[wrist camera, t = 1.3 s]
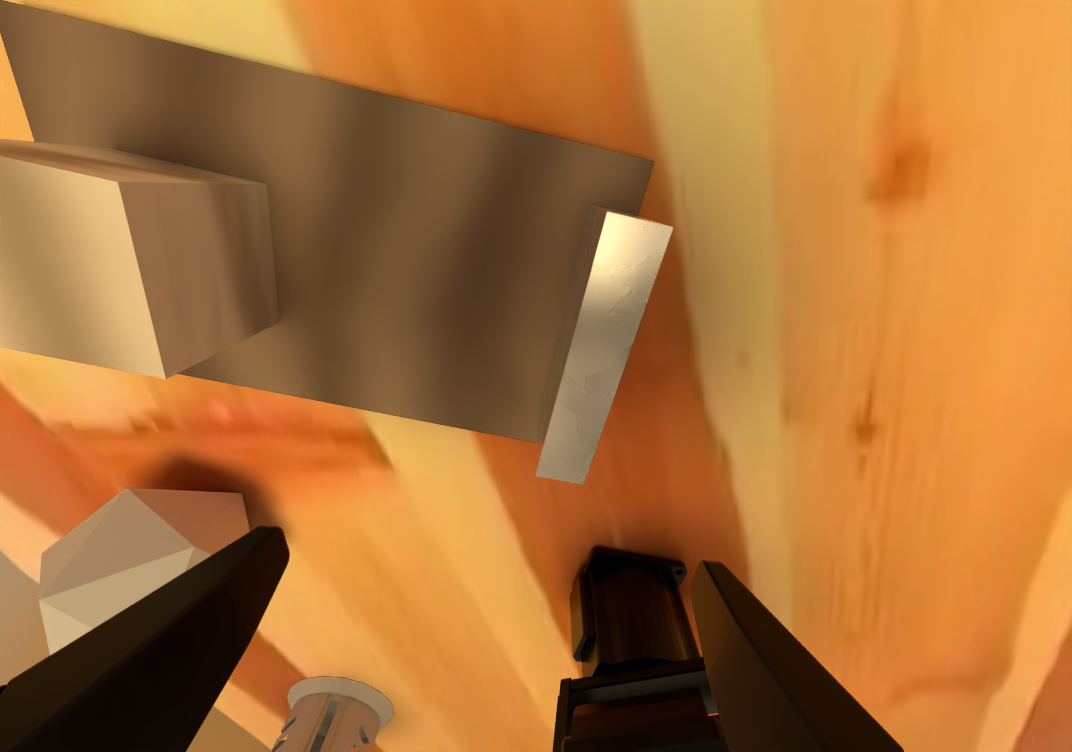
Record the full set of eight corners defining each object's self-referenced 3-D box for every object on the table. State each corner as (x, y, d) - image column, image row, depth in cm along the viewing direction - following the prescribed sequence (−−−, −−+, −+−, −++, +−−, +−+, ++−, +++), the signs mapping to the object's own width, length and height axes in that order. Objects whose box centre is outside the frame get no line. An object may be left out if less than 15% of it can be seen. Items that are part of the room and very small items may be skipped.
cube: (266, 184, 16) (117, 182, 10) (279, 322, 18) (165, 379, 13) (111, 149, 15) (-129, 127, 10) (147, 295, 18) (-28, 342, 12)
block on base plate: (649, 162, 16) (700, 149, 10) (565, 440, 22) (571, 520, 16) (17, 6, 14) (-299, -102, 9) (119, 353, 20) (-31, 411, 15)
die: (156, 427, 23) (-75, 587, 18) (233, 494, 19) (-29, 723, 14) (247, 492, 29) (97, 625, 24) (319, 552, 26) (161, 726, 20)
